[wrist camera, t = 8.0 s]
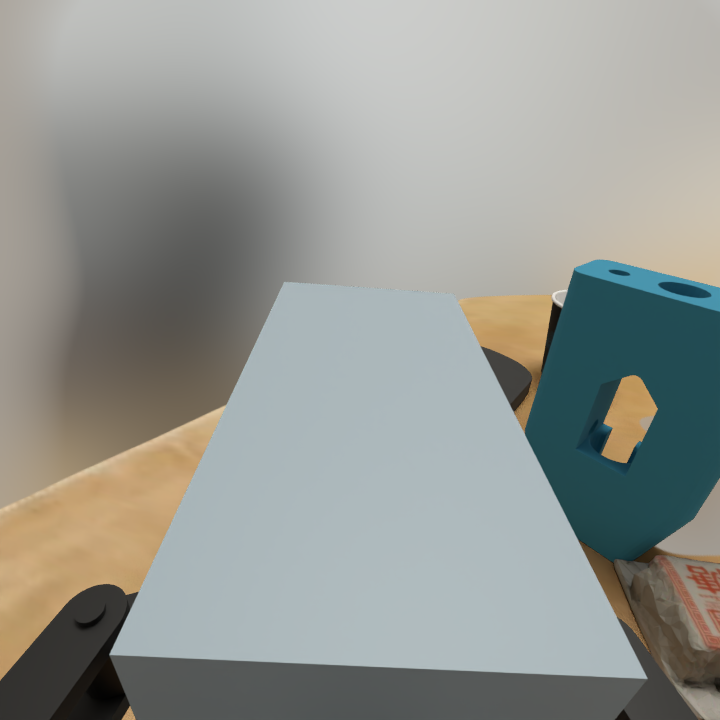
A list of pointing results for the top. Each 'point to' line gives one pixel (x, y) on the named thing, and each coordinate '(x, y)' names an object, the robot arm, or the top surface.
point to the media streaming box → (509, 377)
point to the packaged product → (680, 623)
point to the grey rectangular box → (371, 540)
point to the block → (596, 392)
